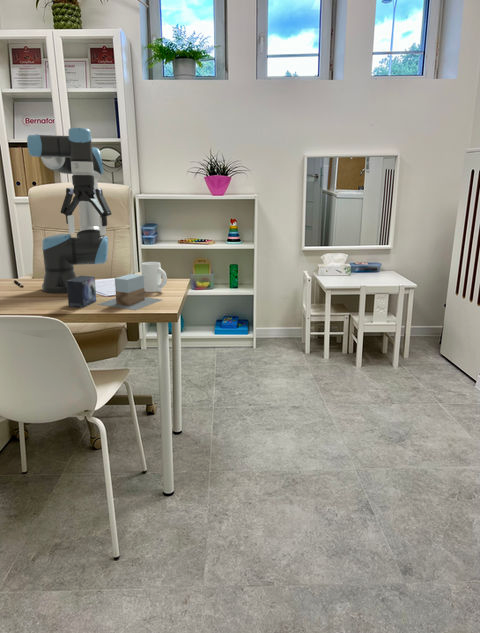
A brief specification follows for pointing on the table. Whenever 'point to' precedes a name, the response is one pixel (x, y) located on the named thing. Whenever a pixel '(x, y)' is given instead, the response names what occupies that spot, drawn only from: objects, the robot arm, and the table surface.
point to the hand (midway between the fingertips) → (87, 234)
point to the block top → (129, 283)
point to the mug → (153, 276)
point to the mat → (132, 307)
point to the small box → (81, 291)
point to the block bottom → (130, 297)
